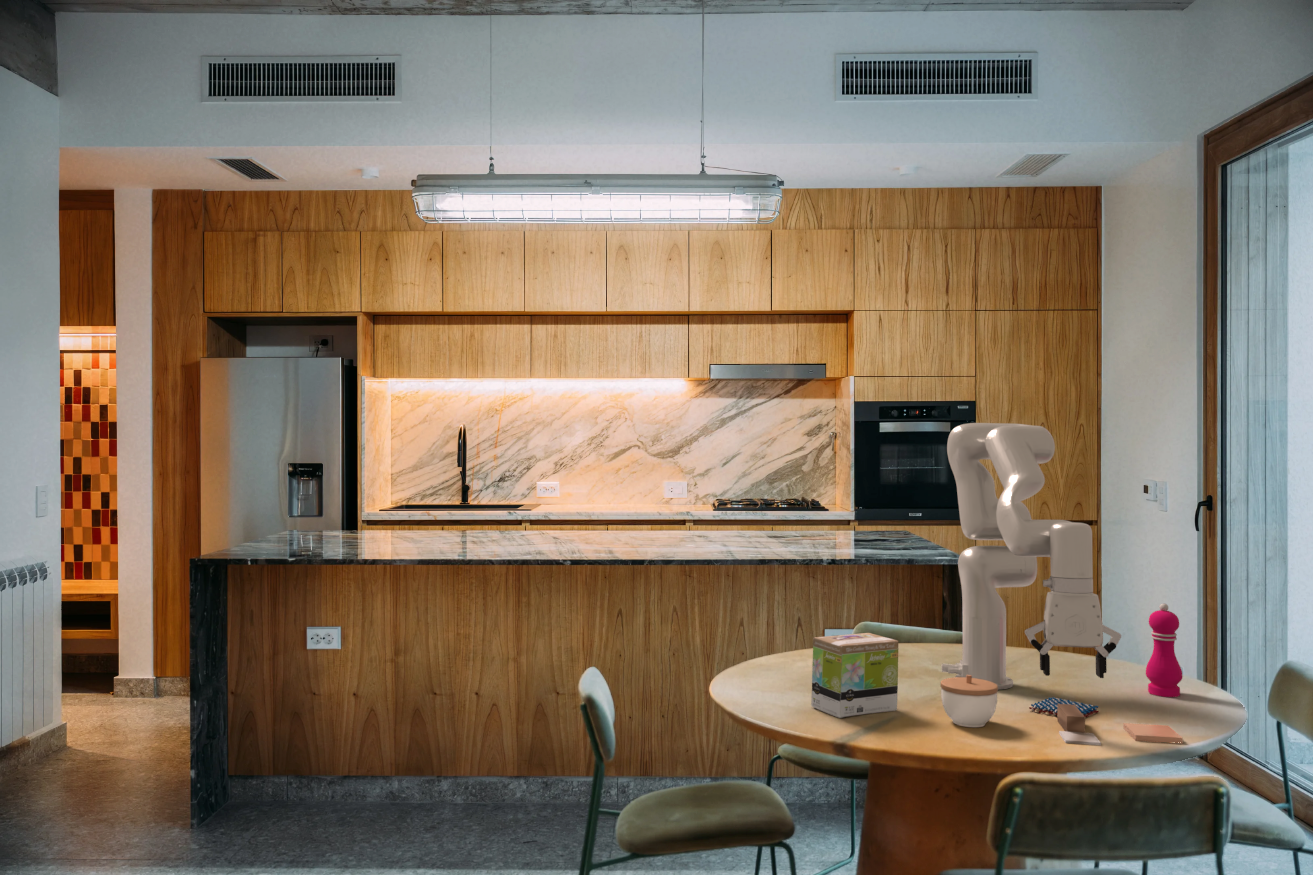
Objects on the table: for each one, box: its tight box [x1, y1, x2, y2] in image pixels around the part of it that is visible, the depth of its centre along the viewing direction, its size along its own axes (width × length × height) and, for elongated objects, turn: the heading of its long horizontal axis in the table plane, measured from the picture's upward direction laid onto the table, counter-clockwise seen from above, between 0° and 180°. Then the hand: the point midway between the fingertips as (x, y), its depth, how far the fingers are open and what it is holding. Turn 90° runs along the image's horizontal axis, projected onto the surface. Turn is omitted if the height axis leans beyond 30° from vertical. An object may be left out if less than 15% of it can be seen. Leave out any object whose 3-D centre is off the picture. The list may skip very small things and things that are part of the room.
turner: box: [1056, 704, 1102, 746], centre depth 181 cm, size 6×15×4 cm, turn 168°
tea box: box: [810, 632, 900, 719], centre depth 196 cm, size 15×10×15 cm
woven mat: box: [1028, 696, 1099, 718], centre depth 195 cm, size 10×11×2 cm
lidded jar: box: [940, 675, 999, 728], centre depth 187 cm, size 11×11×9 cm
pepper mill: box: [1145, 603, 1184, 698], centre depth 211 cm, size 7×7×20 cm
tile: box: [1122, 722, 1184, 744], centre depth 179 cm, size 8×2×8 cm
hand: (1072, 675), depth 183 cm, fingers open, 9 cm apart
